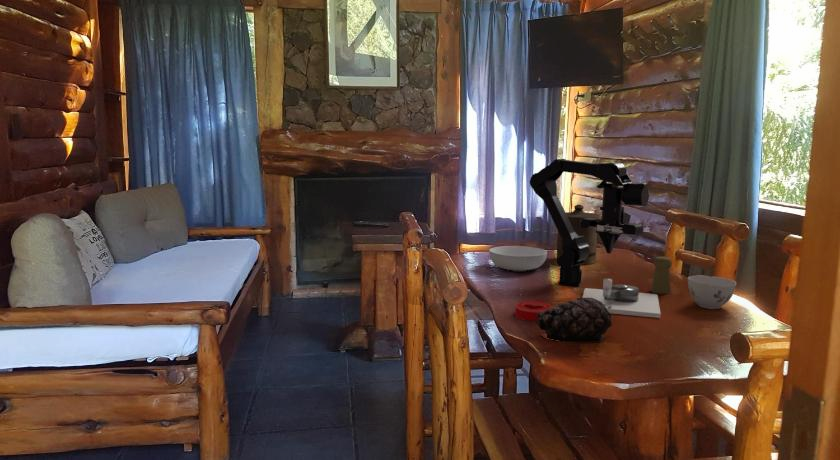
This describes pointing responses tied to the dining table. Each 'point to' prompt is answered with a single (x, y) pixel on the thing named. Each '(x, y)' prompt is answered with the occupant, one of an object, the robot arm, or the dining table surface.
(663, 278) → the cork
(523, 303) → the decorative ornament
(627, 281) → the dining table surface
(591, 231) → the wooden container
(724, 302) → the teacup
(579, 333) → the pine cone
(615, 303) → the stand board
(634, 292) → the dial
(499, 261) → the serving bowl
